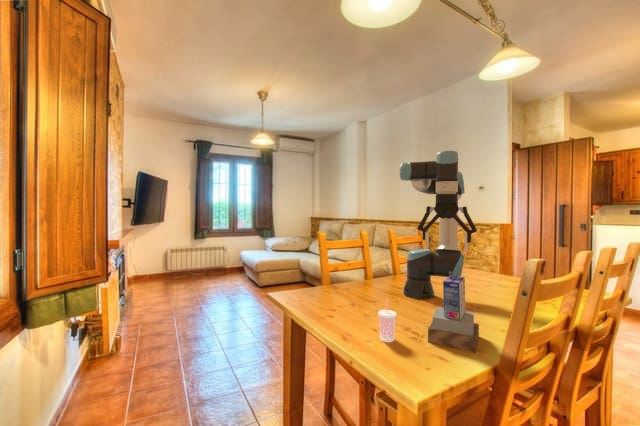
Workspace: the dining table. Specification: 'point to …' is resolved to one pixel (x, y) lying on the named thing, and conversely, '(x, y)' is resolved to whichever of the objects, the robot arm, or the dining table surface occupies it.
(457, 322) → the grey top slab
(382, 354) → the dining table surface
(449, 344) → the walnut base slab
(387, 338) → the beverage cup
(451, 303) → the ink cartridge box
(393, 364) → the dining table surface
